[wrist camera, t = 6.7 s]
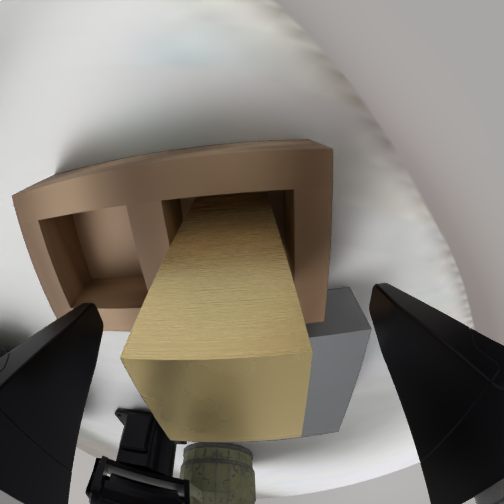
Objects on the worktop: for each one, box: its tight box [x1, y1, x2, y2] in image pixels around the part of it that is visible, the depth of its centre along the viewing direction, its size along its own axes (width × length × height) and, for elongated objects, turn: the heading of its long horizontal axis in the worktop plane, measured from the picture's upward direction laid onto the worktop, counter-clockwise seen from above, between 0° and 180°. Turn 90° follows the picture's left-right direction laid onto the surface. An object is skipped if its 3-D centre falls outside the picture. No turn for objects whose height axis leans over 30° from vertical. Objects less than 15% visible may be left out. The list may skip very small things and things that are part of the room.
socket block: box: [192, 287, 371, 443], centre depth 18 cm, size 12×12×4 cm
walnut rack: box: [12, 140, 333, 331], centre depth 13 cm, size 14×8×4 cm, turn 94°
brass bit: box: [120, 191, 312, 442], centre depth 10 cm, size 3×3×10 cm
